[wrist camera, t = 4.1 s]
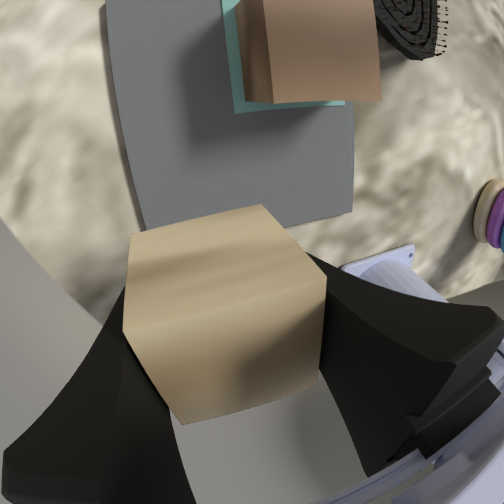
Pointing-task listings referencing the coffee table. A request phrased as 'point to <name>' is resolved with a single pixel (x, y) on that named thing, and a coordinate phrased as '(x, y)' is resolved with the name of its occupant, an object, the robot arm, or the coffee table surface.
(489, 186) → the stacking toy
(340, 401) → the robot arm
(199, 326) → the birch block
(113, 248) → the coffee table surface
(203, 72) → the mat
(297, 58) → the walnut block
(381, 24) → the hairbrush
